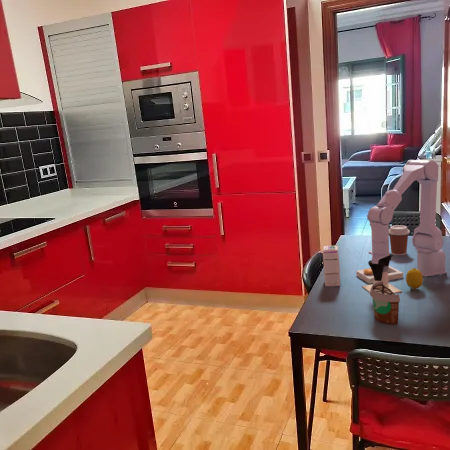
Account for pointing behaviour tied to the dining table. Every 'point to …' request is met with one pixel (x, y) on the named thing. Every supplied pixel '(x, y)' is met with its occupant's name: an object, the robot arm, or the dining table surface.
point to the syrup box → (331, 265)
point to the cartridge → (384, 277)
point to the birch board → (391, 287)
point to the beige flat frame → (370, 278)
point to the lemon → (414, 278)
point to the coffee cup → (398, 239)
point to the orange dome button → (368, 271)
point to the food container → (385, 304)
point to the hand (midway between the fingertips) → (381, 276)
